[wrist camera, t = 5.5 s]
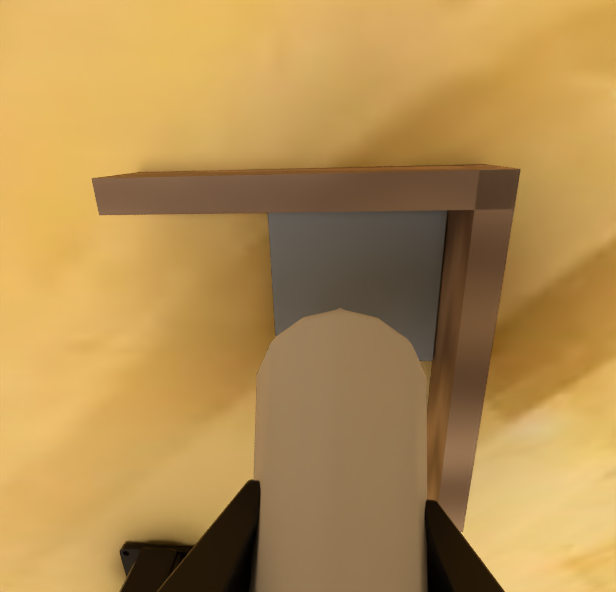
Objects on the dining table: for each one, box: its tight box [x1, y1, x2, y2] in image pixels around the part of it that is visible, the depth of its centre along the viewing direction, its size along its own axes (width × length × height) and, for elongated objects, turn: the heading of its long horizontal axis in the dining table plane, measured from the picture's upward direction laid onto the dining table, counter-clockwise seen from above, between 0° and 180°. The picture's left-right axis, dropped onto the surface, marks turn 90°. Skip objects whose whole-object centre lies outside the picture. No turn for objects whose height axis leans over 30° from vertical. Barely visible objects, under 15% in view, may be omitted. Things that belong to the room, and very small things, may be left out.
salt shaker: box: [249, 308, 429, 592], centre depth 10 cm, size 6×6×13 cm
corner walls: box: [92, 164, 520, 532], centre depth 21 cm, size 19×17×4 cm
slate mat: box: [268, 210, 447, 361], centre depth 21 cm, size 9×9×1 cm
